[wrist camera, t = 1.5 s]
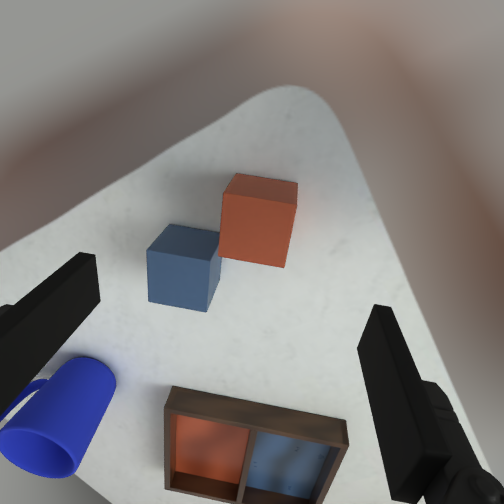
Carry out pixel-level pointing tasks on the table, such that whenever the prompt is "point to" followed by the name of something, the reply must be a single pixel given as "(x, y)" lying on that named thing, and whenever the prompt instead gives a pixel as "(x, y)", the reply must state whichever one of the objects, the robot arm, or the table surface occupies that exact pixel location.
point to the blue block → (183, 268)
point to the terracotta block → (257, 219)
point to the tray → (249, 450)
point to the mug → (58, 418)
